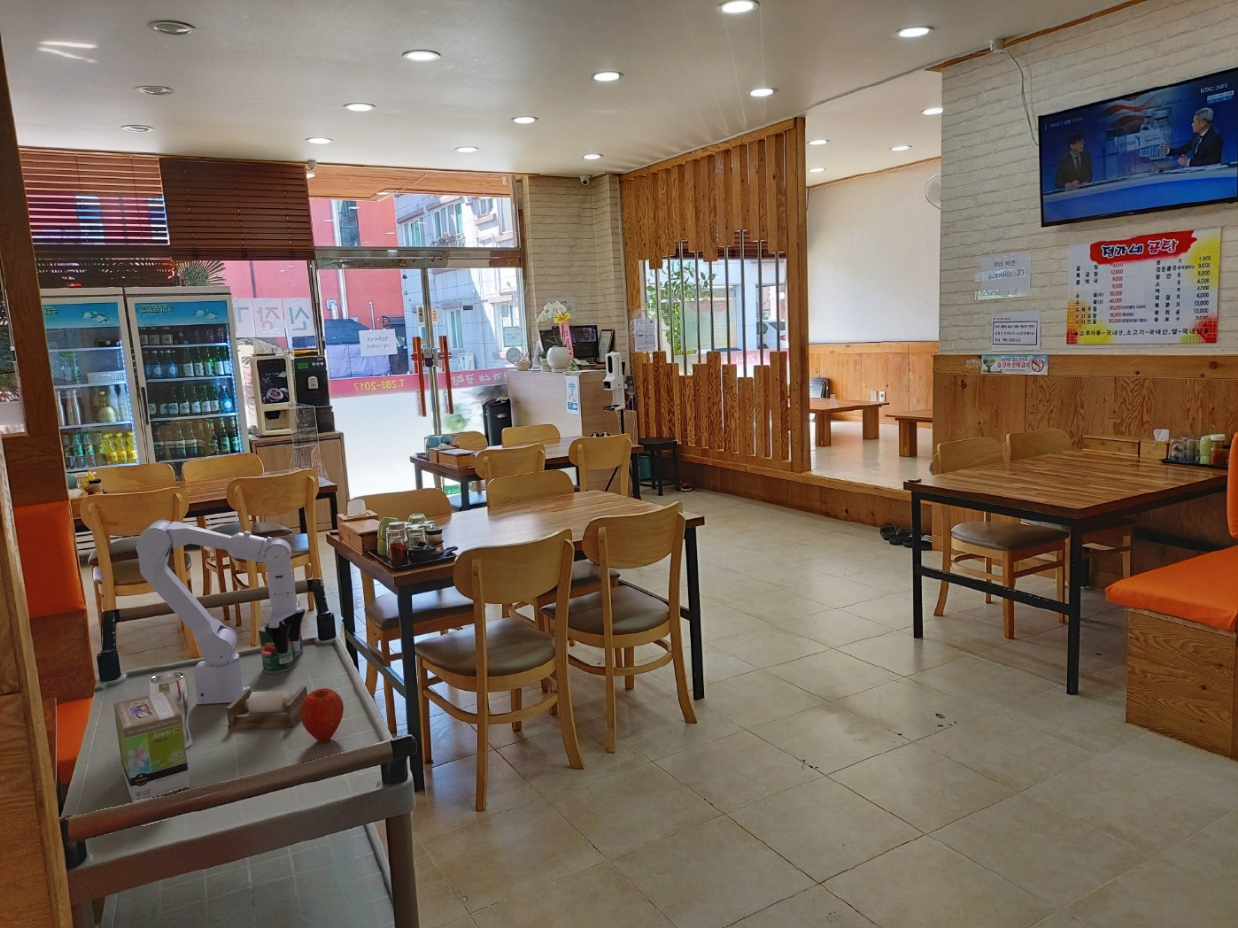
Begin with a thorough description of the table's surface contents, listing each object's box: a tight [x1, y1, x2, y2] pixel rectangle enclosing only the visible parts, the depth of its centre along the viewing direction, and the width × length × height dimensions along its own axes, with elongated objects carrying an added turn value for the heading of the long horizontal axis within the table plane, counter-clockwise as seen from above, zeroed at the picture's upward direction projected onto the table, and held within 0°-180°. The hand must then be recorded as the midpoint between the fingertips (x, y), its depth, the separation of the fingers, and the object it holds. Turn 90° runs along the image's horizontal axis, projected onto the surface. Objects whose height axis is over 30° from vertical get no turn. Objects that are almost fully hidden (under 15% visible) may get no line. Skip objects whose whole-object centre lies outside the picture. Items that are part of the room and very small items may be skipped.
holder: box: [226, 685, 308, 731], centre depth 192 cm, size 14×10×5 cm
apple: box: [300, 687, 344, 743], centre depth 179 cm, size 9×8×11 cm
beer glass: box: [148, 670, 194, 749], centre depth 180 cm, size 7×7×15 cm
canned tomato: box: [258, 621, 297, 674], centre depth 221 cm, size 8×8×11 cm
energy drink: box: [294, 629, 304, 657], centre depth 230 cm, size 5×5×12 cm
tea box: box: [113, 691, 191, 802], centre depth 166 cm, size 15×10×15 cm
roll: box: [245, 690, 293, 714], centre depth 191 cm, size 9×5×5 cm, turn 91°
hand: (288, 646), depth 207 cm, fingers open, 7 cm apart
